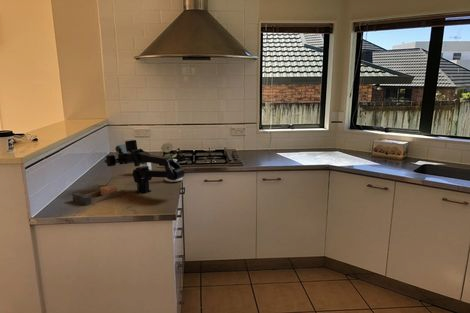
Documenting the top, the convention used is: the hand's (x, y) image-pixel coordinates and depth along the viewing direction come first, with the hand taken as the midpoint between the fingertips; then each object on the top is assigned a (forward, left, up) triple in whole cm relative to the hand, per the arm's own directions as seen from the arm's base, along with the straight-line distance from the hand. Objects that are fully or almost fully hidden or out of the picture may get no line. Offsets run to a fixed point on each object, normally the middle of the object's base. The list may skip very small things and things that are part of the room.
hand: (111, 160), depth 211 cm
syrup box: (+3, -30, -16) cm, 34 cm away
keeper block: (-14, +13, -15) cm, 25 cm away
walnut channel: (-14, +19, -15) cm, 28 cm away
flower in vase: (-23, -28, -16) cm, 39 cm away
